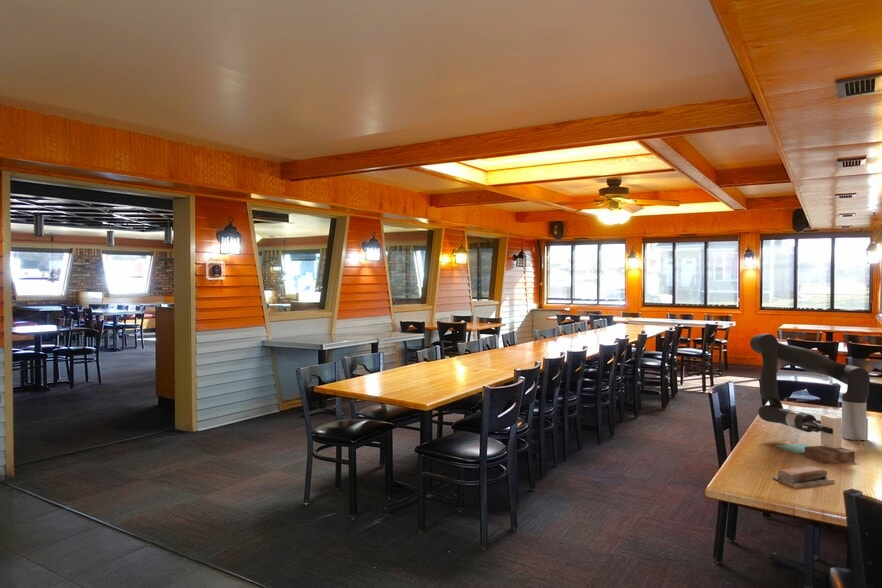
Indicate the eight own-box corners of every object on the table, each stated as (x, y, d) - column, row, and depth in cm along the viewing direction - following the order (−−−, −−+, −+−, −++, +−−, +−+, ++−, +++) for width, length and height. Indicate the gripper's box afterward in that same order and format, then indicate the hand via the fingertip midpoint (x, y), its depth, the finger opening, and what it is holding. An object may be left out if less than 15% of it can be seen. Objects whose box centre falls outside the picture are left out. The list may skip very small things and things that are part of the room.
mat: (803, 444, 254) (803, 443, 254) (825, 451, 243) (825, 450, 243) (776, 446, 251) (776, 445, 251) (797, 454, 240) (797, 452, 240)
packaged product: (796, 476, 200) (772, 467, 210) (796, 489, 200) (772, 480, 210) (835, 470, 206) (810, 462, 215) (835, 484, 206) (810, 475, 215)
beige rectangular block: (827, 443, 236) (828, 414, 236) (841, 447, 231) (841, 417, 230) (820, 444, 236) (820, 415, 235) (833, 448, 230) (833, 418, 230)
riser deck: (832, 454, 240) (832, 444, 240) (854, 461, 230) (854, 451, 230) (804, 456, 237) (804, 446, 237) (825, 464, 227) (825, 453, 227)
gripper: (787, 413, 246) (822, 423, 229) (814, 411, 249) (851, 420, 232) (787, 430, 246) (821, 441, 229) (814, 428, 249) (850, 439, 232)
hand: (836, 431), depth 231 cm, fingers closed on beige rectangular block, 3 cm apart
